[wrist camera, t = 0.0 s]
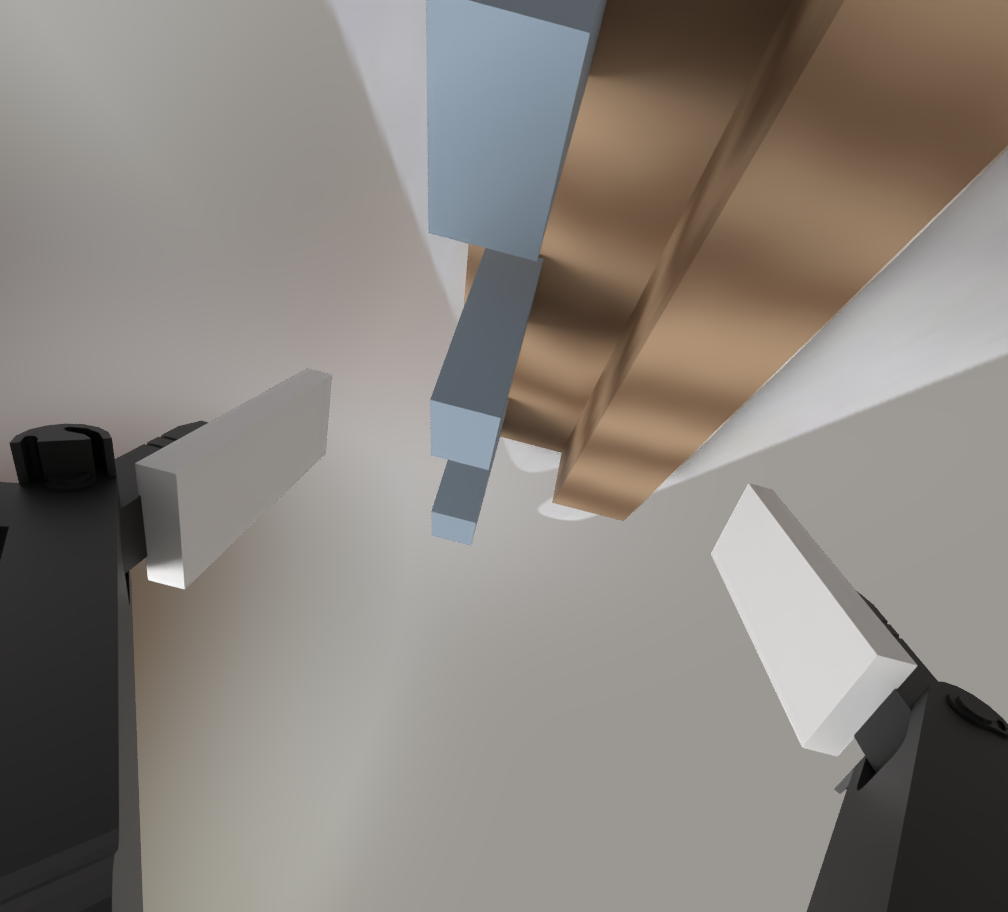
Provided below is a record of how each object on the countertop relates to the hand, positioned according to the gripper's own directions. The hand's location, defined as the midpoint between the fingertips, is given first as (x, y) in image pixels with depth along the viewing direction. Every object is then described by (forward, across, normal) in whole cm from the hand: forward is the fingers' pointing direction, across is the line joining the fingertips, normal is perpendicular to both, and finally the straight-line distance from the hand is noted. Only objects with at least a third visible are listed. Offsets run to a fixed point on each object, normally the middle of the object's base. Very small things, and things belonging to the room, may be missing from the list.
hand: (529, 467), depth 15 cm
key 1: (+22, -3, -7) cm, 24 cm away
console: (+16, +3, +4) cm, 17 cm away
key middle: (+15, -3, +3) cm, 15 cm away
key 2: (+7, -3, +14) cm, 16 cm away
